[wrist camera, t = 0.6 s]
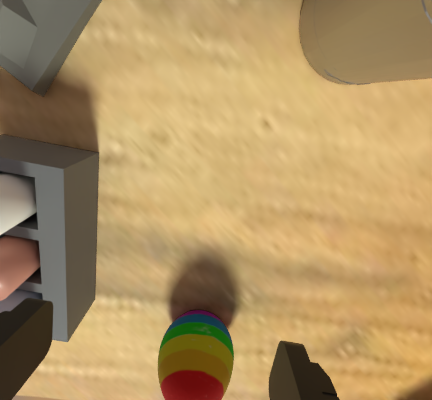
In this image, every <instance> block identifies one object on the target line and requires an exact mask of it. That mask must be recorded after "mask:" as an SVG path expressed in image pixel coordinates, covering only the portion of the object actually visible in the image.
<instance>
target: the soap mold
mask: <svg viewBox="0 0 432 400" xmlns="http://www.w3.org/2000/svg"><path fill="white" fill-rule="evenodd" d="M101 1H102V0H0V66H1V67H3V68H4V69H5V70H6V71H8V72H9V73H10V74H11V75H13V76H14V77H15V78H16V79H18V80H19V81H20V82H22V83H23V84H24V85H25V86H27V87H28V88H29V89H30V90H32V91H33V92H35V93H37V94H39V95H41V96H43V97H44V95H45V93H46V92H47V90H48V88H49V87H50V85H51V83H52V82H53V80H54V78H55V77H56V75H57V73H58V71H59V70H60V68H61V66H62V65H63V63H64V61H65V60H66V58H67V56H68V55H69V53H70V51H71V50H72V48H73V46H74V45H75V43H76V41H77V39H78V38H79V36H80V34H81V33H82V31H83V29H84V28H85V26H86V24H87V23H88V21H89V20H90V18H91V17H92V15H93V14H94V12H95V10H96V9H97V7H98V6H99V4H100V3H101Z"/></svg>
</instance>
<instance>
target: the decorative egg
mask: <svg viewBox="0 0 432 400" xmlns="http://www.w3.org/2000/svg"><path fill="white" fill-rule="evenodd" d="M233 360H234V352H233V344H232V340H231V337H230V334H229V332H228V330H227V328H226V326H225V325H224V323H223V322H222V321H221V320H220V319H219V318H218V317H217V316H215V315H214V314H212V313H210V312H208V311H203V310H193V311H189V312H187V313H184V314H183V315H181V316H180V317H178V318H177V319H176V320H175V321H174V322H173V323H172V324H171V325H170V327H169V328H168V330H167V331H166V333H165V335H164V337H163V340H162V343H161V346H160V351H159V357H158V376H159V383H160V387H161V390H162V393H163V396H164V398H165V400H221V399H222V397H223V396H224V394H225V392H226V390H227V387H228V385H229V382H230V378H231V374H232V370H233Z"/></svg>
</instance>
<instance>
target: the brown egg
mask: <svg viewBox="0 0 432 400" xmlns="http://www.w3.org/2000/svg"><path fill="white" fill-rule="evenodd" d="M40 266H41V265H40V250H39V241H38V240H33V239H27V238H22V237H16V236H10V235H5V236H3V237H2V238H0V301H2V300H4V299H6V298H7V297H8V296H9V295H10V294H11V293H12V292H13V291H14V290H15V289H17V288H18V287H19V286H20V285H21V284H22V283H23V282H24V281H25V280H26V279H27V278H28V277H30V276H31V275H32V274H33V273H34V272H35V271H36V270H37V269H38V268H39V267H40Z"/></svg>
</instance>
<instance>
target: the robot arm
mask: <svg viewBox="0 0 432 400" xmlns="http://www.w3.org/2000/svg"><path fill="white" fill-rule="evenodd" d="M299 33H300V43H301V46H302V49H303V52H304V55H305V57H306V59H307V60H308V62H309V64H310V66H311V67H312V68H313V69H314V70H315V71H316V72H317V73H318V74H319V75H321V76H322V77H324V78H325V79H327V80H329V81H332V82H335V83H338V84H349V85H351V84H357V85H360V84H370V83H379V82H392V81H405V80H418V79H430V78H432V0H304V2H303V6H302V10H301V14H300V24H299ZM52 333H53V303H52V302H51V301H47V300H41V299H35V298H26V299H24V300H23V301H22V302H21V303H20V304H18V305H17V306H16V307H15V308H14V309H12V310H11V311H3V312H1V313H0V400H12V398H13V397H14V396H15V395H16V393H17V392H18V391H19V390H20V388H21V387H22V386H23V385H24V383H25V382H26V381H27V379H28V378H29V377H30V376H31V374H32V373H33V372H34V371H35V369H36V368H37V367H38V366H39V364H40V363H41V362H42V360H43V359H44V358H45V356H46V354H47V353H48V351H49V348H50V346H51V342H52ZM269 397H270V400H339V398H338V397H337V393H336V391H335V388H334V386H333V384H332V382H331V379H330V377H329V376H328V375H327V374H326V373H325V371H324V370H323V369H322V368H321V367H320V365H319V364H318V363H312V362H310V360H309V357H308V354H307V352H306V349H305V347H304V345H303V344H299V343H293V342H287V341H280V342H279V345H278V348H277V352H276V355H275V359H274V362H273V366H272V369H271V373H270V377H269Z"/></svg>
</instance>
